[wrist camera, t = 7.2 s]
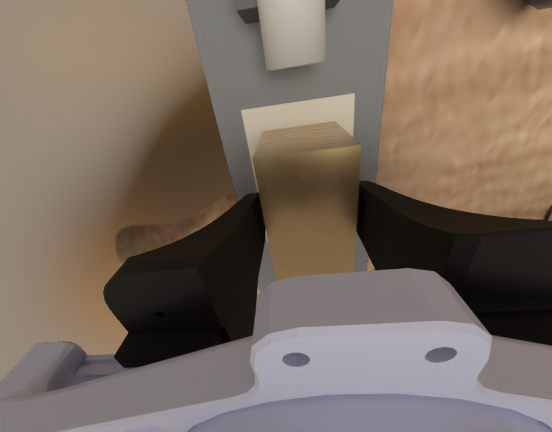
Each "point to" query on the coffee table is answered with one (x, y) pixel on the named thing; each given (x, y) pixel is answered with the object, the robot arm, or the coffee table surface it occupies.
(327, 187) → the block
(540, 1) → the grey long handheld tool
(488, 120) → the coffee table surface
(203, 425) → the robot arm
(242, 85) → the coupling bed
